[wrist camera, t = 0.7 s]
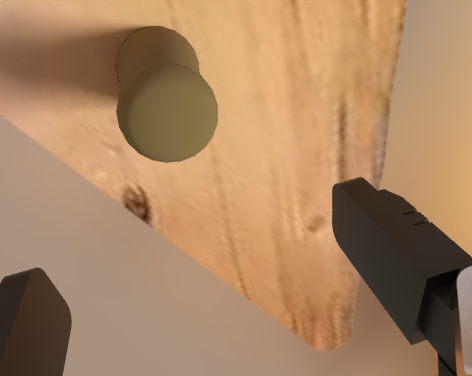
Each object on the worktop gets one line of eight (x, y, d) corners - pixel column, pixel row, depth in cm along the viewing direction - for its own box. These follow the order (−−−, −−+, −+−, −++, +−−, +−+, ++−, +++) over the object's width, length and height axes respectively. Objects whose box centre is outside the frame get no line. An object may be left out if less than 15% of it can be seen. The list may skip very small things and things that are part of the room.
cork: (180, 120, 28) (201, 193, 19) (105, 91, 26) (88, 159, 17) (212, 49, 26) (252, 94, 17) (132, 9, 23) (130, 36, 14)
